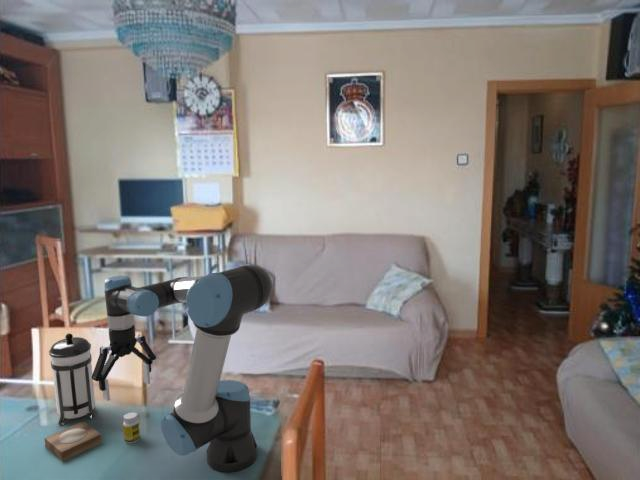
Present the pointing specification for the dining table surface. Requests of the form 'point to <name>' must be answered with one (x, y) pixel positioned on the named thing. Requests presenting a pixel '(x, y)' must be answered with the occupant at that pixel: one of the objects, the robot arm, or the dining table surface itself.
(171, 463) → the dining table surface
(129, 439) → the supplement bottle
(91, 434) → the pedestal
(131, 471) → the dining table surface
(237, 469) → the robot arm
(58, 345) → the coffee press
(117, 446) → the dining table surface
